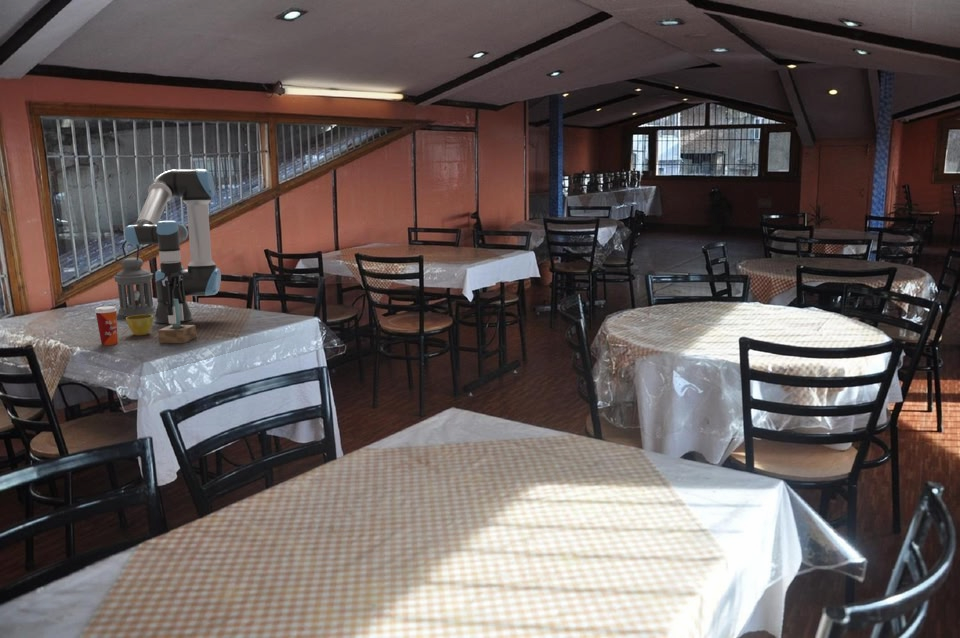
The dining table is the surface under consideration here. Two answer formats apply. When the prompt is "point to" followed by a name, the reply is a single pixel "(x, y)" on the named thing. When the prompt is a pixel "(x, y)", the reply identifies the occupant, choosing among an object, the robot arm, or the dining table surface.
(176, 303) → the teal rectangular bar
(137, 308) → the lantern
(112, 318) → the paper cup
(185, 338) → the wooden block with hole
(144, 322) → the flower pot
